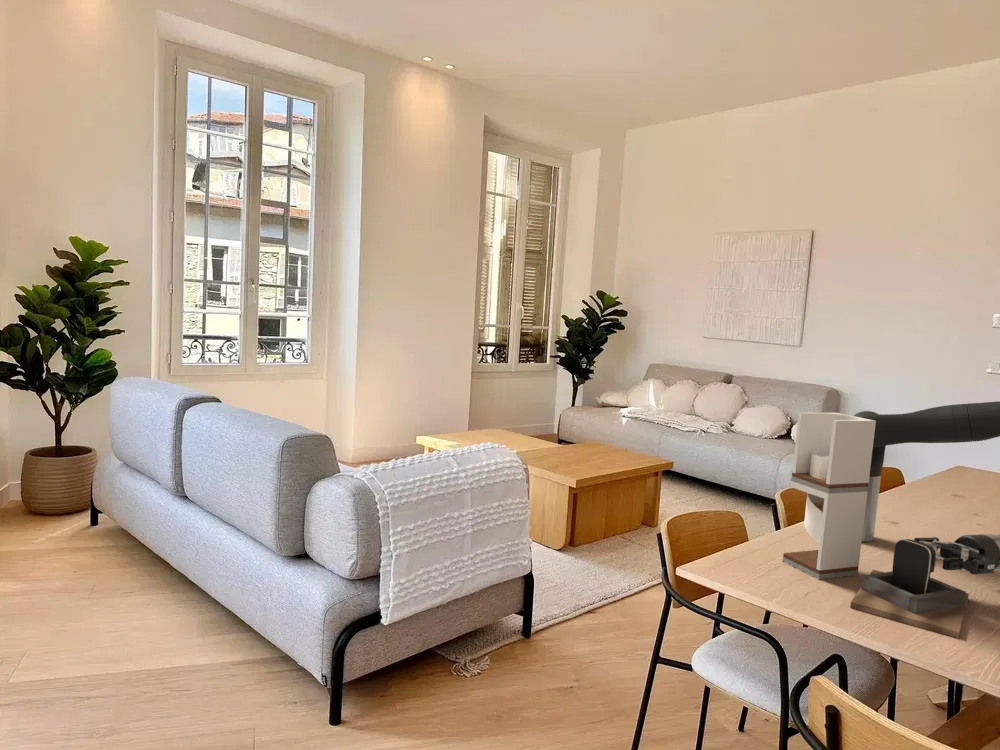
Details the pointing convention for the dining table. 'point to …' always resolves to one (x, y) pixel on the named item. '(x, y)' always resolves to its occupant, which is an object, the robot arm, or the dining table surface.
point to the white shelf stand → (832, 490)
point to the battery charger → (912, 566)
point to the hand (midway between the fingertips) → (925, 556)
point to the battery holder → (913, 603)
